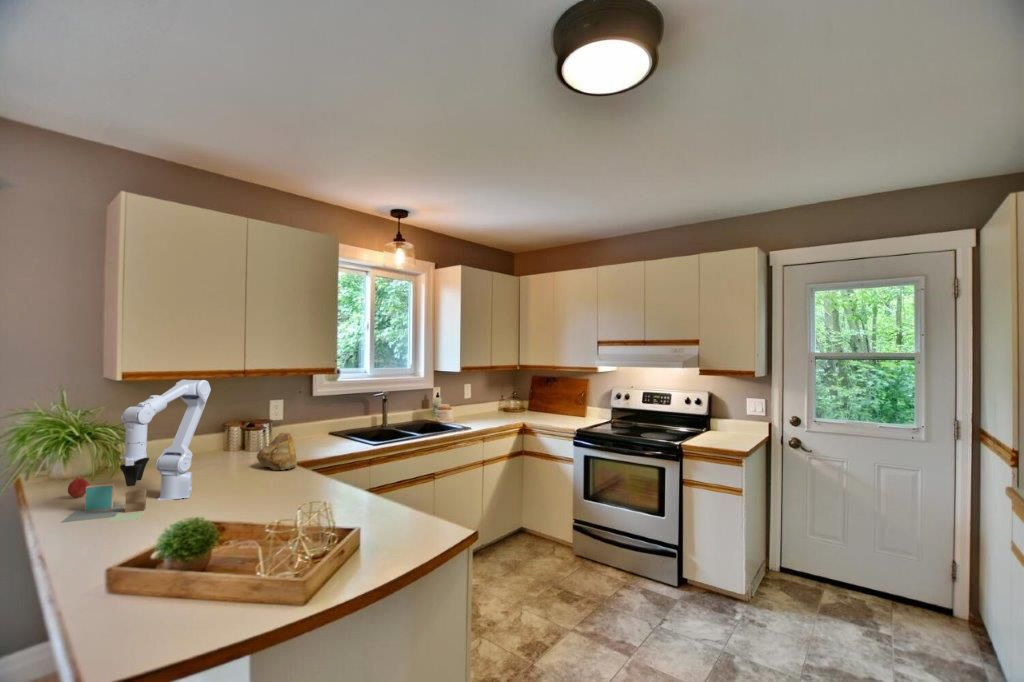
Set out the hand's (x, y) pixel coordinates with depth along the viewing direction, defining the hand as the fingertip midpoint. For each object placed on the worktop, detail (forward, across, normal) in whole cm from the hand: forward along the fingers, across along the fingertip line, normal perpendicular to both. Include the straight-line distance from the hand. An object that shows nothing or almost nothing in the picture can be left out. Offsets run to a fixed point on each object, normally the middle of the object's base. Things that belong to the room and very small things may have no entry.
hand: (134, 483), depth 158 cm
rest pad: (+9, +7, 0) cm, 12 cm away
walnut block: (+10, 0, +1) cm, 10 cm away
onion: (+10, -25, -22) cm, 34 cm away
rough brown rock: (+10, -52, +43) cm, 68 cm away
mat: (+9, -1, -10) cm, 14 cm away
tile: (+9, -5, -10) cm, 15 cm away
